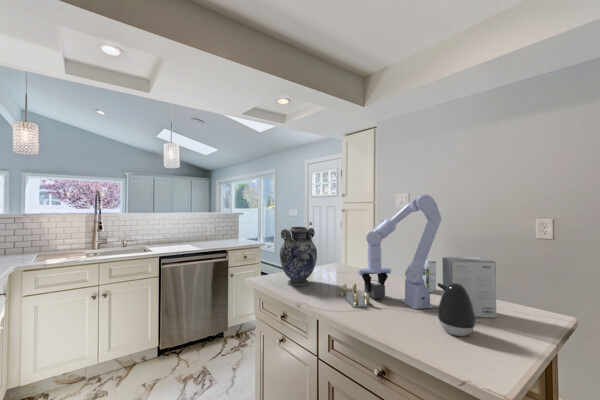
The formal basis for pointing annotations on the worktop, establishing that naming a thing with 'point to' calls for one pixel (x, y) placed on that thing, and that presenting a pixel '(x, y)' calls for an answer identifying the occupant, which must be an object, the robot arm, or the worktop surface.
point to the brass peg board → (355, 298)
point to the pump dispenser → (456, 310)
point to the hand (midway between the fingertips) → (374, 290)
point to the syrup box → (430, 274)
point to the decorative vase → (298, 255)
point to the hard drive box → (474, 281)
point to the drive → (376, 289)
